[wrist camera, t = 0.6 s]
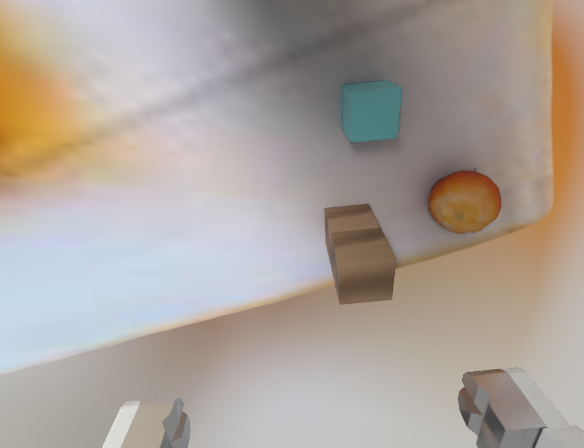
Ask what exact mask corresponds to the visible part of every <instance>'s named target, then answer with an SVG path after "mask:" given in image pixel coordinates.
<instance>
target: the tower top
mask: <svg viewBox="0 0 584 448" xmlns="http://www.w3.org/2000/svg"><path fill="white" fill-rule="evenodd" d="M331 254H332V273H333V277H334V281H335V286H336V290H337V295H338V299H339V303H340V304H350V303H361V302H371V301H382V300H392V293H393V284H394V274H395V265H396V257H395V256H394V254H393V252H392V250H391V248H390V246H389V244H388V242H387V240H386V238H385V236H384V234H383V232H382V230H381V228H372V229H362V230H352V231H342V232H332V233H331Z"/></svg>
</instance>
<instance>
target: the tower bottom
mask: <svg viewBox="0 0 584 448" xmlns="http://www.w3.org/2000/svg"><path fill="white" fill-rule="evenodd" d="M372 228H380V226H379V224H378V222H377V220H376V218H375V216H374V214H373V212H372V210H371V208H370V206H369V204H362V205H352V206H342V207H332V208H325V232H326V246H327V250H328V255H329V259H330V264H331V268H332V254H331V233H332V232H342V231H352V230H362V229H372Z"/></svg>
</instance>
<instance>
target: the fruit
mask: <svg viewBox="0 0 584 448" xmlns="http://www.w3.org/2000/svg"><path fill="white" fill-rule="evenodd" d="M476 170H477V169H476V168H475V169H474V171H459V172H455V173H452V174H450V175H448V176H446V177H444V178H442V179H440V180H439V181H437V182H436V184H435V185H434V186H433V188H432V190H431V193H430V197H429V211H430V212H431V214H432V217H433V218H434V220H435V221H437V222H438V223H439V224H440V225H441V226H443V227H444V228H446V229H447V230H449V231H452V232H454V233H458V234H463V233H467V232H473V233H474V232H477V231H480V230H482V229H483V228H484V227H485V226H487V225H488V224H489V223H491V222H492V221H494V220H495V219H496V218H497V216H498V214H499V211H500V209H501V197H500V192H499V188H498V187H497V185H496V184H495V183H494V182H493V181H492V180H491V179H490V178H488V177H487V176H485V175H483V174H480V173H477V172H476Z"/></svg>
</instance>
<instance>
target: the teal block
mask: <svg viewBox="0 0 584 448" xmlns="http://www.w3.org/2000/svg"><path fill="white" fill-rule="evenodd" d="M401 94H402V87H400V86H398V85H396V84H394V83H392V82H390V81H388V80H382V81H373V82H363V83H354V84H344V85H342V130H343V132H344V133H345V135H346V137H347V138H348V140H349V141H350V143H355V142H364V141H374V140H384V139H394V138H398V128H399V117H400V106H401Z"/></svg>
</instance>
